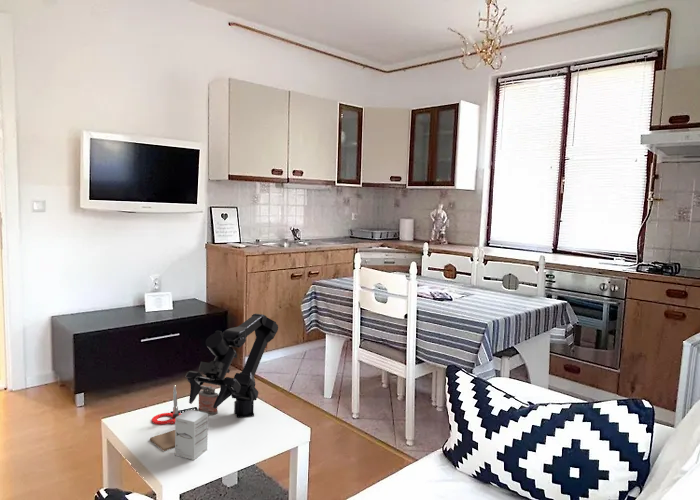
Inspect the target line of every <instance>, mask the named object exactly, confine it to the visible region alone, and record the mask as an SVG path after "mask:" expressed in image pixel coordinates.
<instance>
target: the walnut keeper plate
mask: <svg viewBox="0 0 700 500" xmlns="http://www.w3.org/2000/svg"><path fill="white" fill-rule="evenodd" d="M149 441H150V442H151V443H153V445H155V446H157V447H158V448H159V449H161V450H162V451H163V452H166V451H169V450H172V449H175V429H174V430H170V431H167V432H164V433H161V434H157V435H154V436H151V437H150V438H149Z"/></svg>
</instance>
